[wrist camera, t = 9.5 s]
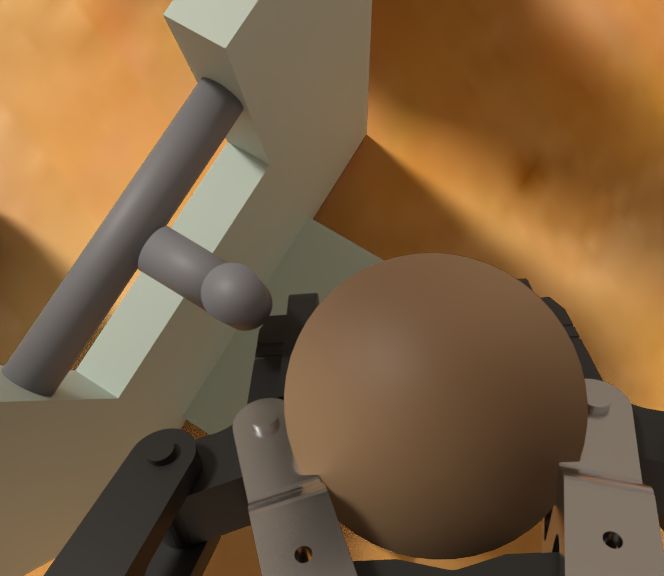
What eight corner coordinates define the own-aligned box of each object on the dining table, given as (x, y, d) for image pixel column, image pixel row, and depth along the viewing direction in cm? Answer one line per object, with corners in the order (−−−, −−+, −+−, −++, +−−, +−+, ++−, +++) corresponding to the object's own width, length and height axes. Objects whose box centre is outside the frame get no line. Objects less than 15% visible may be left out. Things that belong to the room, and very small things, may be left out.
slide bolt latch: (326, 659, 23) (275, 1131, 8) (34, 459, 25) (-431, 556, 10) (561, 240, 26) (837, 36, 11) (280, 86, 28) (193, -265, 13)
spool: (430, 502, 19) (493, 625, 9) (300, 418, 20) (227, 448, 10) (505, 369, 19) (642, 349, 10) (377, 293, 20) (381, 201, 10)
